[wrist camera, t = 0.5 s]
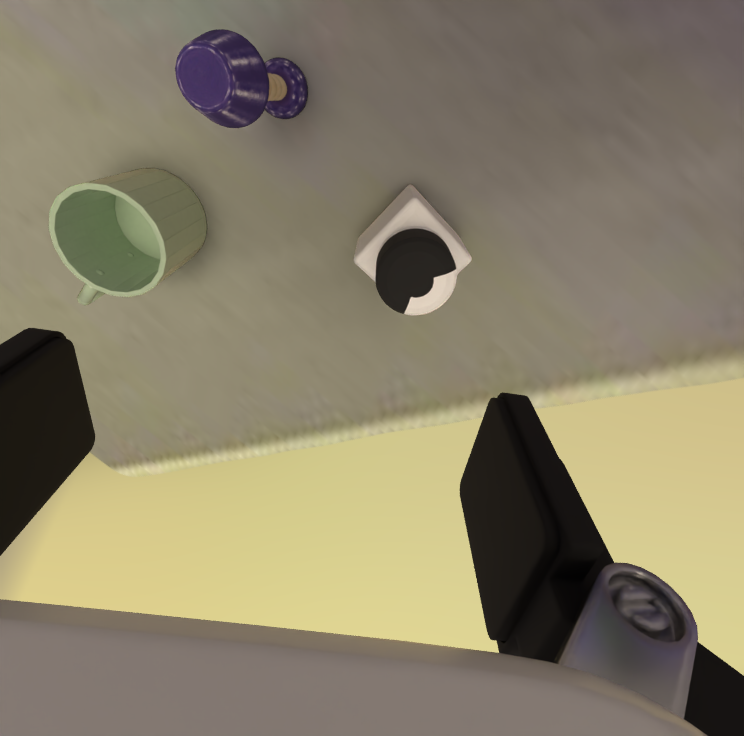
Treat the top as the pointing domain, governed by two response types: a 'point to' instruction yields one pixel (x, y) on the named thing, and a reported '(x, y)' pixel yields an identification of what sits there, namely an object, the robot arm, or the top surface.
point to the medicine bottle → (411, 255)
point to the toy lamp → (237, 80)
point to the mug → (126, 231)
